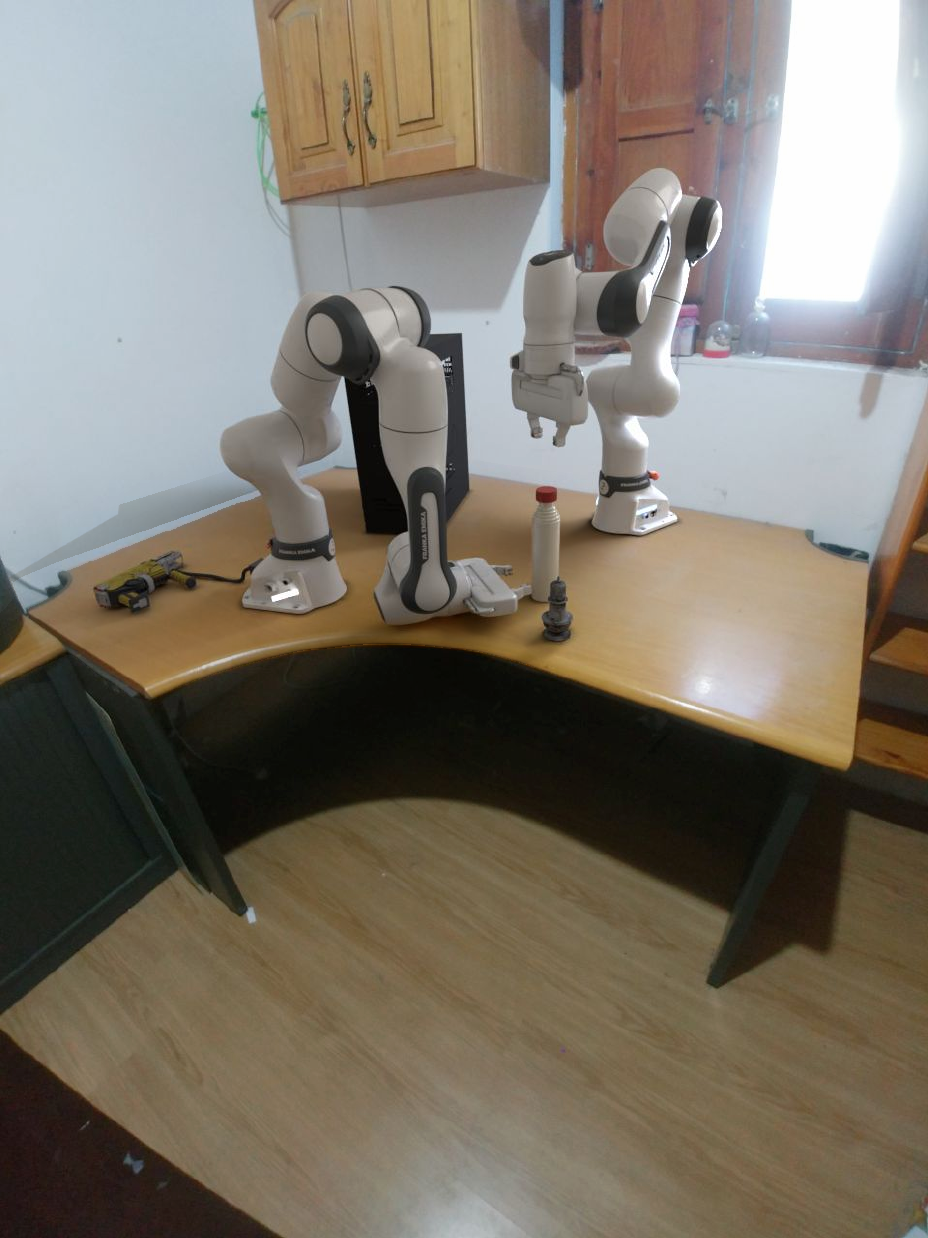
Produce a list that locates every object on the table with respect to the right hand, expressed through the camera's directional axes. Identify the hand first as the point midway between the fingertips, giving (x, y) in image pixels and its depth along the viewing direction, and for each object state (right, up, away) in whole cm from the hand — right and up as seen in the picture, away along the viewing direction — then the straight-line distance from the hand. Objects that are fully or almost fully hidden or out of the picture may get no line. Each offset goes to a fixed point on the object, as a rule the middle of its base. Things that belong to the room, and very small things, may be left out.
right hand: (547, 441), depth 111 cm
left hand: (-4, -24, +12) cm, 27 cm away
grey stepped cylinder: (+2, -36, +2) cm, 36 cm away
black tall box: (-28, -1, +66) cm, 71 cm away
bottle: (+2, -28, +16) cm, 32 cm away
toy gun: (-85, -26, +28) cm, 93 cm away
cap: (0, -8, +5) cm, 9 cm away
